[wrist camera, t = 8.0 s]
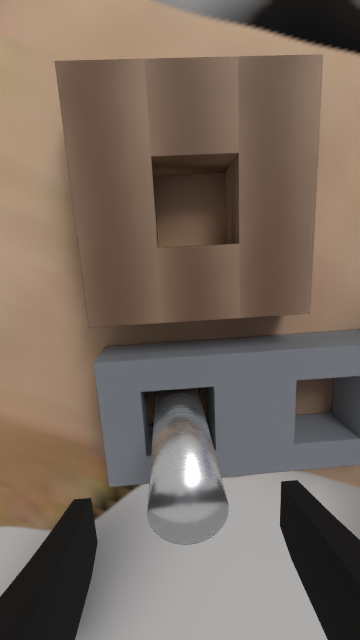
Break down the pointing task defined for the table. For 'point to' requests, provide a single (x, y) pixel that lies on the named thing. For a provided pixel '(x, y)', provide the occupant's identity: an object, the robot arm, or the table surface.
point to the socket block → (193, 158)
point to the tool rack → (235, 401)
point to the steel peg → (184, 471)
